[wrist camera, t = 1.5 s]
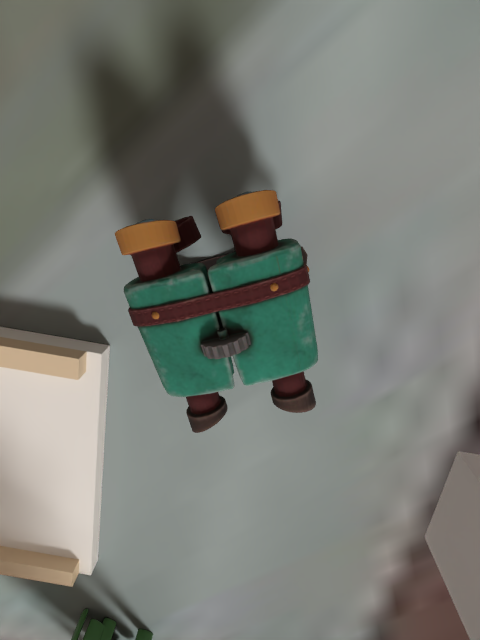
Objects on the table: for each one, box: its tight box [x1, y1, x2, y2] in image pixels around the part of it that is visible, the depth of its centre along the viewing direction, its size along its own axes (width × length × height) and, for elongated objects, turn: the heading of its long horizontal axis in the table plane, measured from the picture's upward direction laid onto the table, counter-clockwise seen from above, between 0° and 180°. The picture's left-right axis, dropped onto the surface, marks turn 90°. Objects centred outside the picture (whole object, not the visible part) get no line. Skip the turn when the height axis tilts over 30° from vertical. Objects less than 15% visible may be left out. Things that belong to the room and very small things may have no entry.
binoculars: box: [115, 190, 318, 433], centre depth 22 cm, size 9×11×10 cm
